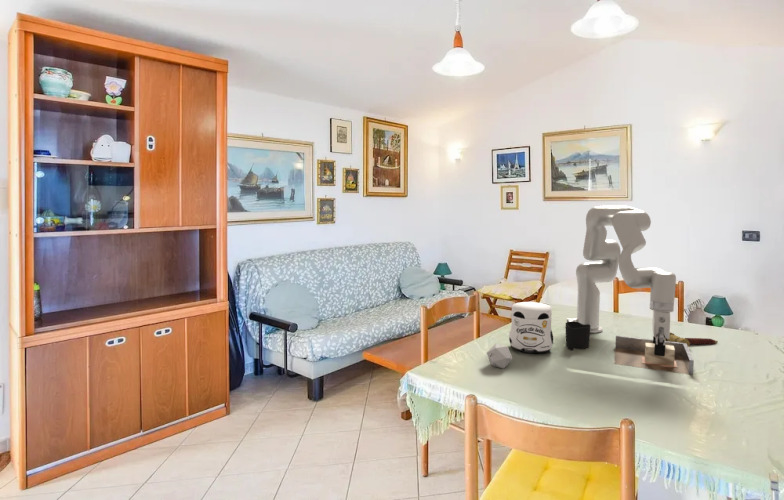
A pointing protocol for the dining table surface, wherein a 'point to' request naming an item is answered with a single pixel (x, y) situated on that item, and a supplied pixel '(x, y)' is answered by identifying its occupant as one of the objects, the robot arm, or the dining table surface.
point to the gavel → (690, 340)
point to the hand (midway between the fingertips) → (658, 351)
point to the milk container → (531, 327)
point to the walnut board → (639, 361)
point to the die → (499, 356)
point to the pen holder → (577, 335)
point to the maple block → (655, 359)
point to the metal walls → (639, 343)
